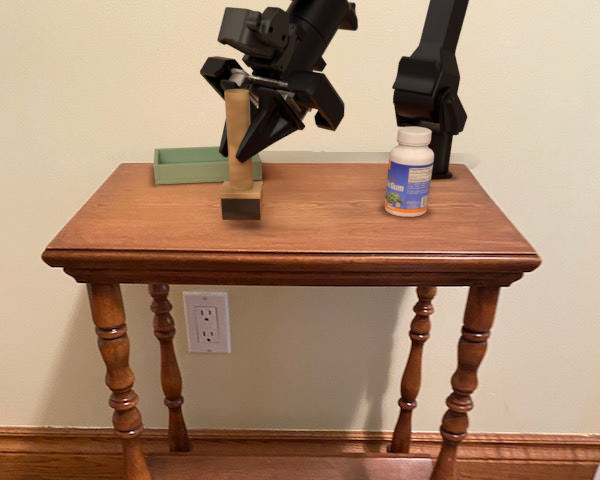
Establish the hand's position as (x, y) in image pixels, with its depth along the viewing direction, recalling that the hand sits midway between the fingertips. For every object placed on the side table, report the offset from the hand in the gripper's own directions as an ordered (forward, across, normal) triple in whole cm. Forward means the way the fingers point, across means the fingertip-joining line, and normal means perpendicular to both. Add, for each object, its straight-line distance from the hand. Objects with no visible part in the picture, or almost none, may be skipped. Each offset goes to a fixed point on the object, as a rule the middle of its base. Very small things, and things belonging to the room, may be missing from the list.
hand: (230, 157), depth 69 cm
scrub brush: (+4, 0, +6) cm, 7 cm away
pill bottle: (-8, +9, +21) cm, 24 cm away
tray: (-3, -22, +14) cm, 26 cm away
